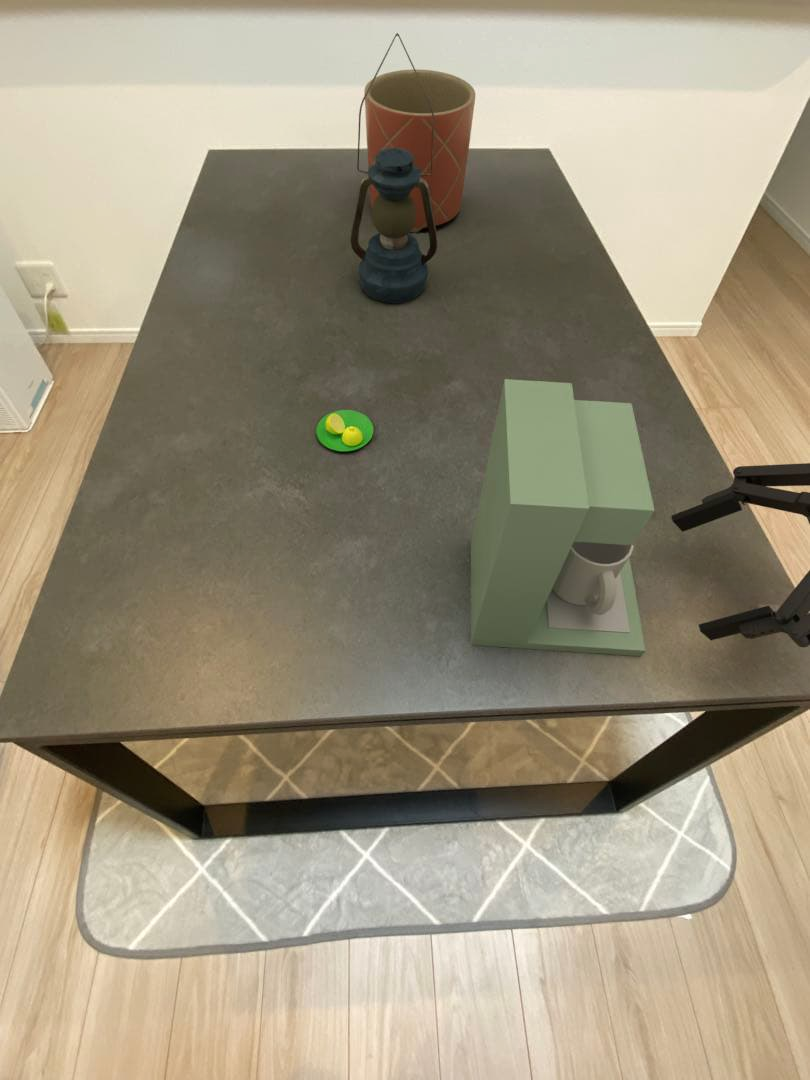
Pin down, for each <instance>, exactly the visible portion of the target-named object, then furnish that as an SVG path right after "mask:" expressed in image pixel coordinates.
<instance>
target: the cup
mask: <svg viewBox="0 0 810 1080" xmlns="http://www.w3.org/2000/svg"><path fill="white" fill-rule="evenodd" d="M634 546H635V544H634V545H620V544H604V543H588V542H573V545H572V547H571V549H570V551H569V553H568V555H567V558H566V560H565V562H564V564H563V566H562V568H561V570H560V573H559V575H558V577H557V579H556V581H555V583H554V586H553V588H552V590H553V591H554V592H555V593H556V594H557V595H558V596H559V597H560V598H562V599H563V600H565V601H567V602H569V603H572V604H577V605H586V606H587V608H588V609H589V611H590V612H591V613H593V614H596V615H603V614H604V613H606V612H607V611H609V610H610V609H611V607H612V606H613V603H614V601H615V597H616V581H615V579H616V578H617V576H618V574H619V573H620V571H621V570H622V568H623V566H624V565H625V563H626V562H627V560H628V558H629V559H630V557H631V555H632V553H633V550H634V548H635V547H634Z"/></svg>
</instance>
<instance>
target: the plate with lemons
mask: <svg viewBox="0 0 810 1080" xmlns="http://www.w3.org/2000/svg"><path fill="white" fill-rule="evenodd" d="M315 431H316V437H317V440H318V441H319V442H320V443H321V444H322V445H323V446H324V447H326V448H328V449H330V450H333V451H337V452H352V451H356V450H359V449H361V448H362V447H364V446H366V445H367V444H368V443H369V442H370V441H371V440H372V438H373V435H374V425H373V423H372V421H371V420H370V418H369V417H368V416H367V415H365V414H364V413H362V412H359V411H356V410H351V409H340V410H336V411H332V412H330V413H328V414H327V415H325V416H324V417H322V418H321V419H320V420H319V422H318V424H317V426H316V429H315Z"/></svg>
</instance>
